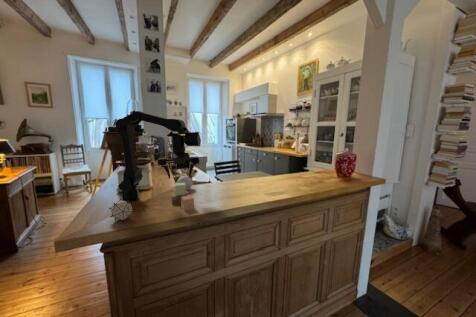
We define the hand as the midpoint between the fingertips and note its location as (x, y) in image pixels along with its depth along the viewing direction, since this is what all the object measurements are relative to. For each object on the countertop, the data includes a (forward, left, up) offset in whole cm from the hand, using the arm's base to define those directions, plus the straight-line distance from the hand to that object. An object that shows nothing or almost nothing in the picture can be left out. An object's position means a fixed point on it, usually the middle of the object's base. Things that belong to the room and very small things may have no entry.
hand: (179, 178), depth 98 cm
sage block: (0, 0, -8) cm, 8 cm away
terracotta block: (+3, -10, -12) cm, 16 cm away
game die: (-22, -15, -12) cm, 29 cm away
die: (+3, +18, -12) cm, 22 cm away
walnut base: (0, 0, -12) cm, 12 cm away
